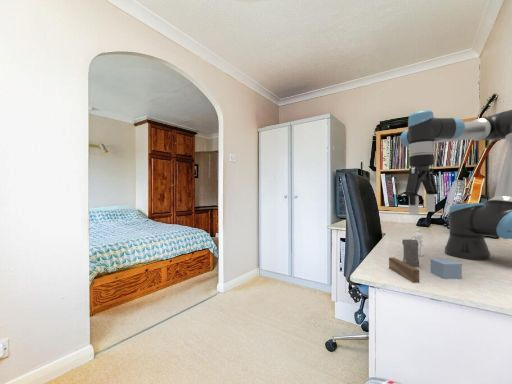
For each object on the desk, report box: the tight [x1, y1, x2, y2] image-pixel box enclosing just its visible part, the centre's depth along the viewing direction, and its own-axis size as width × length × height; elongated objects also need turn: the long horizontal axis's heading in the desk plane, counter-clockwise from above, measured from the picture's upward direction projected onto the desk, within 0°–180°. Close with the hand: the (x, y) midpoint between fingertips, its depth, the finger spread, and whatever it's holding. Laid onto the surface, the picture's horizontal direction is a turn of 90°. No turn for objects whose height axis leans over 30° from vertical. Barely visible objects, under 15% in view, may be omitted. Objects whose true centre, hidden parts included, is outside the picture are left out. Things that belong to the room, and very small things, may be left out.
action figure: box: [406, 228, 424, 257], centre depth 107 cm, size 6×4×12 cm, turn 36°
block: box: [429, 258, 463, 280], centre depth 82 cm, size 6×6×5 cm
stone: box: [401, 238, 420, 268], centre depth 93 cm, size 3×6×10 cm, turn 70°
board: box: [388, 257, 420, 283], centre depth 83 cm, size 2×14×4 cm, turn 179°
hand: (422, 213), depth 87 cm, fingers open, 13 cm apart
